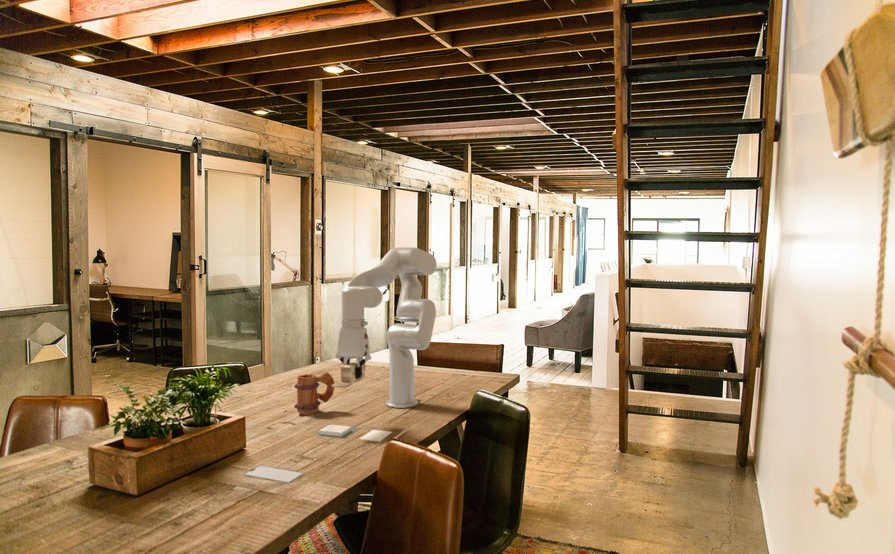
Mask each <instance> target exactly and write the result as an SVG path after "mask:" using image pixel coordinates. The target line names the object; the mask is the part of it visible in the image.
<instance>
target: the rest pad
mask: <svg viewBox="0 0 895 554" xmlns="http://www.w3.org/2000/svg"><path fill="white" fill-rule="evenodd" d="M392 433H393V431H387V430H378V429H372V430H370V431H369V432H367V433H366V434H365V435H363V436H360V437H359V440H361V441H369V442H370V441H371V442H377V443H378V442H379V443H380V442H381V441H383V440H384V439H386V438H387V437H389V436H390V435H391V434H392Z"/></svg>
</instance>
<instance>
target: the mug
mask: <svg viewBox="0 0 895 554" xmlns="http://www.w3.org/2000/svg"><path fill="white" fill-rule="evenodd" d="M320 383H322V384H324V385H326V390H325V391H324V392H323V393H319V392H318V388H319V386H320ZM333 384H335V381H334V378H333V377H332V375H331V374H330V373H329V372H328V371H325V372H323V373H321V374H320V375H318V376H316V375H315V374H300V375H298V376H297V383H296V384H295V385H294V388H295V389H296V390H297V392H296V393H297V398H296V399H297V400H296V401H297V403H296V404H294V408H295V409H296V410H297V413H298V414H300V415H302V416H309V415H313V414H316V413H317V412H319V410H320V409H319V407H320V405H321V401H322V402H323V403H328V401H329V400H330V399H331V397H332V396H333V395H334V391H335V387H332V385H333ZM319 400H320V401H319Z"/></svg>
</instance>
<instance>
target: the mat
mask: <svg viewBox="0 0 895 554" xmlns="http://www.w3.org/2000/svg"><path fill="white" fill-rule="evenodd" d="M350 427H351V432H349V433H347V434H346V435H344V436H343V437H333V436H324V435H319V432H317V433H315V434H314V436H318V437H326V438H335V439H336V438H338V439H346V438H348V437H349V436H351V435H353V434H354V433H356V432H357V431H358V430H360V429H361V427H356V426H350Z"/></svg>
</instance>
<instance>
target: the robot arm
mask: <svg viewBox="0 0 895 554" xmlns="http://www.w3.org/2000/svg"><path fill="white" fill-rule="evenodd" d="M437 264H438V263H437V259H436V258H435V256H434V255H433V254H431V253H430V252H427V251H425V250H422V249H420V248H418V247H393V248H391V249H389V250H388V252H387V253H385V254H384V256H383V257H382V258H381V259H380V261H379V262H378V263H377V264H376V265H375V266H374V267H371V268H370V269H367V270H364V271H363V272H361V273H360V274H357V275H355V276H354V277H353V278H351V280H349V282H348V283H347V285H346V286H345V287H344V288H343V290H342V291H341V327H340V329H339V334H338V339H337V340H338V341H337V342H338V343H337V352H336V355H335V358H336V359H337V360H339V361H340V362H341V363H342V366H345V365H347V364H350V363H351V359H355V361H356V364H357V367H356V368H355V378H356V379H358V378H361V376H362V366H363V364H364V363H365V364H366V363H367V362H369V361H370V360H372V356H371V353H370V340H369V333H368V330H367V329H368V328H367V327H366V326H368V321H365V320H366V319H365V308H366V309H375V308H377V307H379V305H380V304H381V303H382V301H383V292H382V291H381V290H380V289H379V288H382V287H385V286H388V285H391V284H392V283H393V282H394V280H395V279H396V278H397V277H399V279H400V285H401V287H400V293H399V297H398V303H397V308H396V312H395V313H396V318H397V319H398V320H399V322H405V323H394V324H392V325H391V326H389V328H388V329H387V331H386V342H387V346H388V354H389V357H388V358H389V398H388V399H387V400H385V405H386V406H387V407H390V408H396V409H398V408H399V409H401V408H402V409H406V408H411V407H412V408H413V407H416V406H417V405H418V404H419V401H418V400H417V399H416V398H415V394H416V390H415V377H414V376H415V372H414V371H415V370H414V369H415V366H414V365H415V360H414V356H413V354H412V352H411V350H416V351H417V350H418V351H424V350H426V349H427V348H429V346H430V344H431V341H432V336H433V331H434V326H435V321H436V316H437V309H436V305H435V303H434V302H433V300H431V299H428V298H422V294H423V286H422V283H421V281H420V280H419V278H418V277H417V276H431V275H433V274H434V273H435V272H436V270H437ZM408 323H418V324H408ZM364 357H365V358H364Z"/></svg>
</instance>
